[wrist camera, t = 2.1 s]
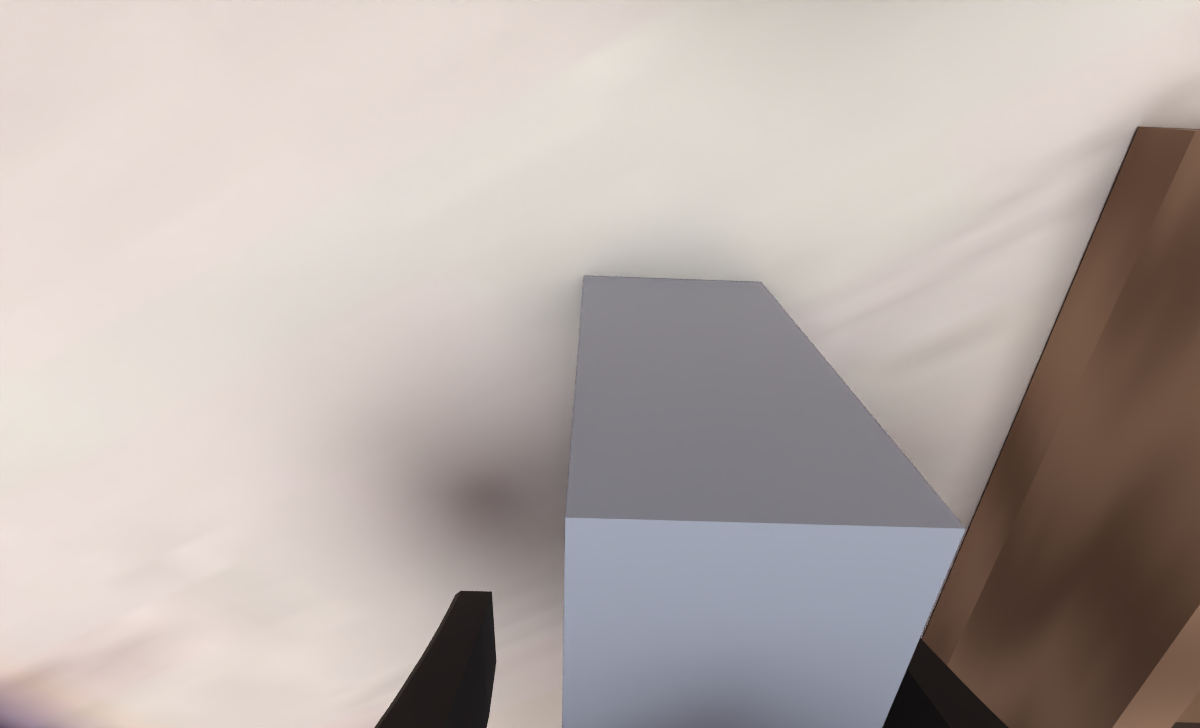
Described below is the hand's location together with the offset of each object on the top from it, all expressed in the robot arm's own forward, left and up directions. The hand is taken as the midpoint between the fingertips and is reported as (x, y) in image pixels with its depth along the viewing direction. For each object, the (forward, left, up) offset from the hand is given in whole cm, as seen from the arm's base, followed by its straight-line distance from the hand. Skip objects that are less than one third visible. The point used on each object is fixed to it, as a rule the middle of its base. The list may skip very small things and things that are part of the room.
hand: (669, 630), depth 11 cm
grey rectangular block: (0, 0, -5) cm, 5 cm away
